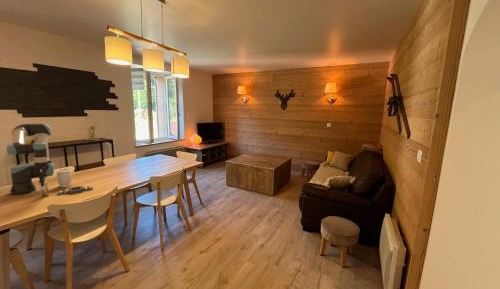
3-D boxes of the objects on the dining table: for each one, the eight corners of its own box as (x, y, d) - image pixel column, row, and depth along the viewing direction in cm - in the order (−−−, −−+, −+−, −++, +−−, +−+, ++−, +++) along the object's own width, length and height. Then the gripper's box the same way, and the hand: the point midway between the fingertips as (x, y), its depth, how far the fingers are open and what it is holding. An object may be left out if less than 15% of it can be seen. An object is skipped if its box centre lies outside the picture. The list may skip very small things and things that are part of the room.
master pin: (41, 195, 177) (39, 181, 175) (49, 194, 180) (47, 180, 178) (40, 197, 173) (39, 183, 171) (48, 196, 176) (47, 182, 174)
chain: (58, 192, 186) (58, 189, 185) (92, 187, 200) (92, 184, 200) (58, 195, 178) (57, 192, 178) (92, 190, 193) (92, 187, 192)
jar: (54, 188, 193) (53, 172, 191) (61, 184, 203) (60, 168, 200) (68, 187, 196) (67, 171, 194) (74, 183, 206) (73, 168, 203)
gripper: (37, 159, 179) (39, 183, 182) (32, 165, 160) (35, 192, 163) (49, 158, 184) (51, 181, 187) (46, 164, 165) (48, 190, 168)
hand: (44, 187), depth 175 cm, fingers open, 13 cm apart
